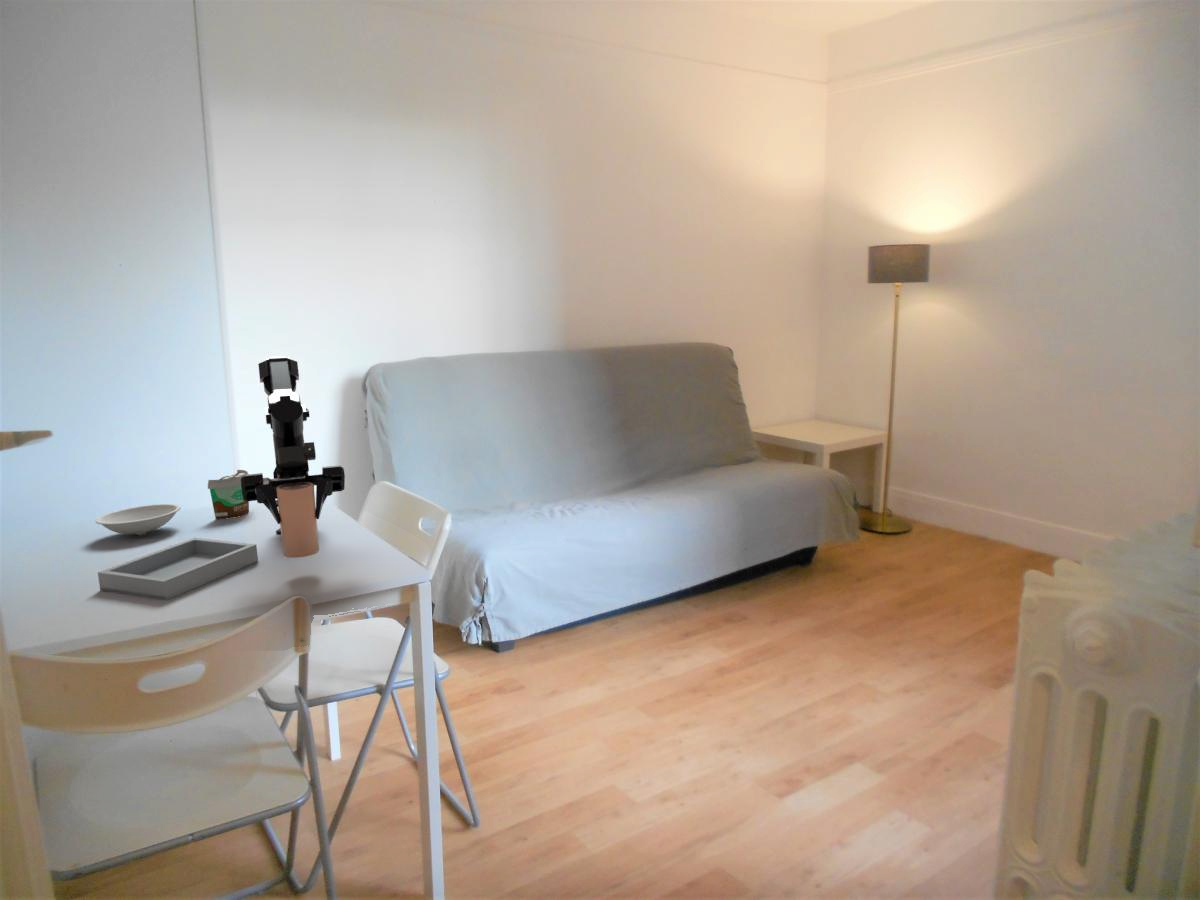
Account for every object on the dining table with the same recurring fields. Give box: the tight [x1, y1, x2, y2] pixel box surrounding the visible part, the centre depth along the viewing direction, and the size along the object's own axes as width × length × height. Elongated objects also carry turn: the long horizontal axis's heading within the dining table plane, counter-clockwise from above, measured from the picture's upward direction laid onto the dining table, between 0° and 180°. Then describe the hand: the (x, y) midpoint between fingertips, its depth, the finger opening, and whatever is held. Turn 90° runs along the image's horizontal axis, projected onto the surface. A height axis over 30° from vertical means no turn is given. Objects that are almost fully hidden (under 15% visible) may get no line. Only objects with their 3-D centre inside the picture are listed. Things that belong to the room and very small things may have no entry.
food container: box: [207, 469, 250, 520], centre depth 205 cm, size 12×6×10 cm, turn 168°
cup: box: [276, 482, 321, 559], centre depth 159 cm, size 7×7×13 cm
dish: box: [95, 503, 182, 536], centre depth 191 cm, size 18×14×5 cm
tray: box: [97, 537, 259, 601], centre depth 162 cm, size 22×16×4 cm
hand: (298, 520), depth 158 cm, fingers closed on cup, 7 cm apart
